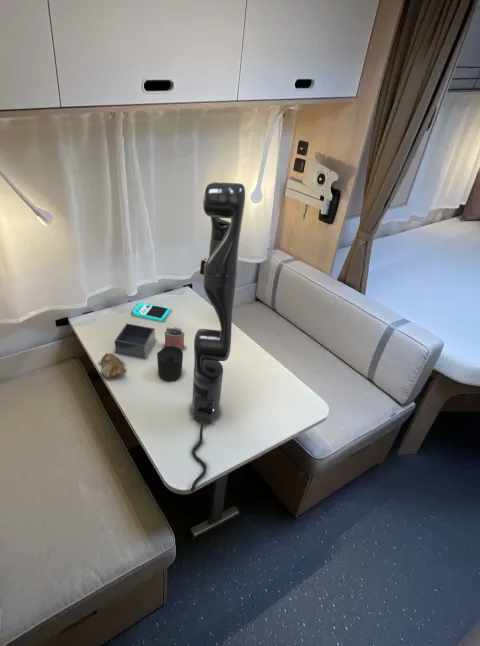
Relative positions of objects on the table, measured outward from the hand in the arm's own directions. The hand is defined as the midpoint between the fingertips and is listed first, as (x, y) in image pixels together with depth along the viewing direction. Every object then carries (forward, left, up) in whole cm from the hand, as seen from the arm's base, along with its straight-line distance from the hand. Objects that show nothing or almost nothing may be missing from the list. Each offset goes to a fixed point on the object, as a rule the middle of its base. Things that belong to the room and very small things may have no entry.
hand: (216, 287), depth 155 cm
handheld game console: (+12, +32, -26) cm, 43 cm away
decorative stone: (-30, +33, -26) cm, 52 cm away
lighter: (-10, +14, -26) cm, 31 cm away
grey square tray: (-14, +30, -26) cm, 42 cm away
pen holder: (-26, +11, -26) cm, 38 cm away
